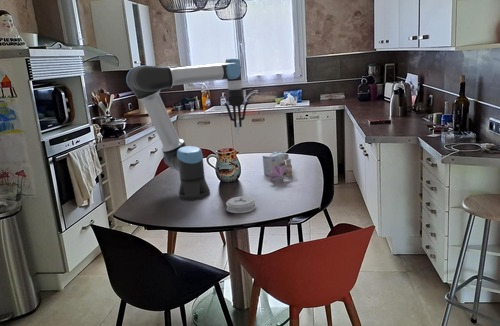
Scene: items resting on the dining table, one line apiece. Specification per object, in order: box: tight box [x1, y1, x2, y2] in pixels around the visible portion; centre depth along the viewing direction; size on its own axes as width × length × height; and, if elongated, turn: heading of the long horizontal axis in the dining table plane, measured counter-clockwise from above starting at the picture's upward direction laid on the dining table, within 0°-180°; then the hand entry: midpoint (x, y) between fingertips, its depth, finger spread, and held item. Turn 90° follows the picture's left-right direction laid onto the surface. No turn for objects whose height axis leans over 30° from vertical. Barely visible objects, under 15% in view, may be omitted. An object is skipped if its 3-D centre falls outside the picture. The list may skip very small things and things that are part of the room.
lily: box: [267, 164, 290, 184], centre depth 217 cm, size 12×12×10 cm
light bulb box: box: [262, 151, 285, 177], centre depth 233 cm, size 11×7×11 cm, turn 133°
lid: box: [225, 195, 257, 214], centre depth 182 cm, size 13×13×5 cm
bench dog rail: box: [284, 152, 293, 178], centre depth 232 cm, size 16×3×9 cm, turn 0°
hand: (238, 133), depth 229 cm, fingers closed
